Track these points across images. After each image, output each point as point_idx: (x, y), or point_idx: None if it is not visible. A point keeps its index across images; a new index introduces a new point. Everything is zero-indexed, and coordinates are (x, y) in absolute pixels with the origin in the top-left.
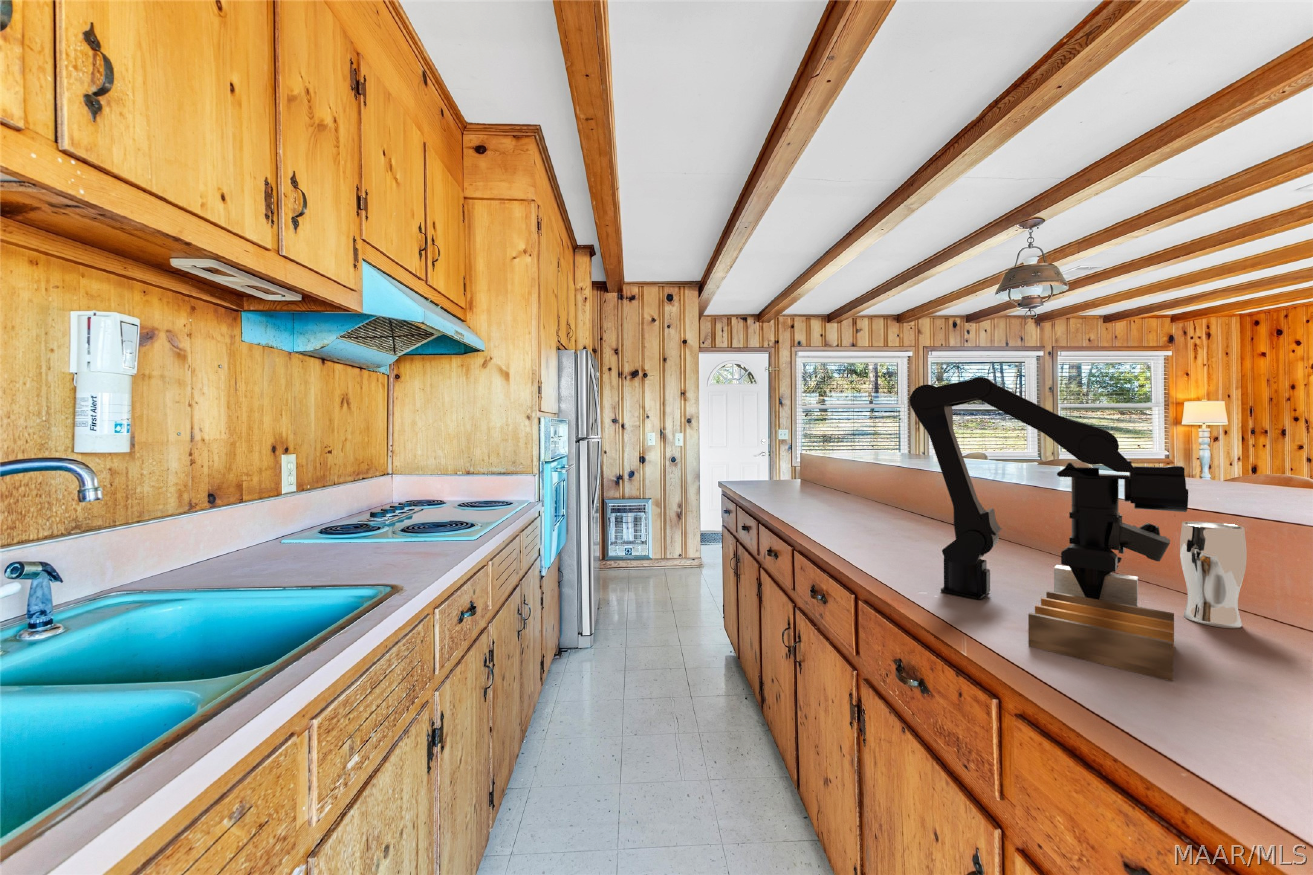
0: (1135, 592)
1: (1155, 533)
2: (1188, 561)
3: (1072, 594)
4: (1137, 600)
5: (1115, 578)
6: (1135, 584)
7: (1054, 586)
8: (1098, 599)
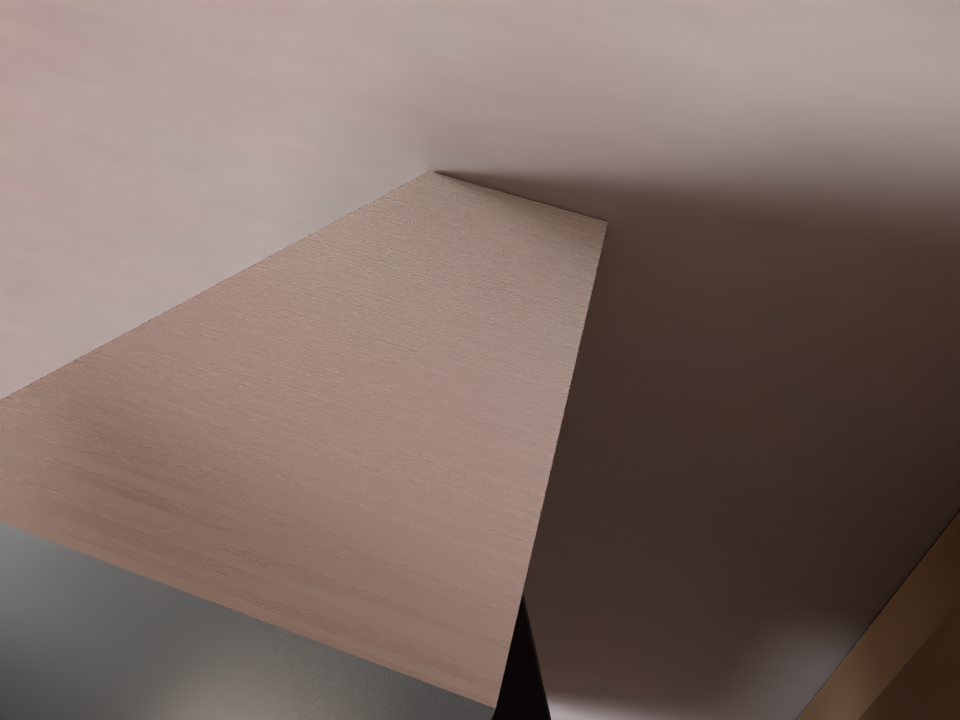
0: (554, 437)
1: None
2: None
3: None
4: (419, 271)
5: None
6: (515, 581)
7: None
8: (531, 649)
